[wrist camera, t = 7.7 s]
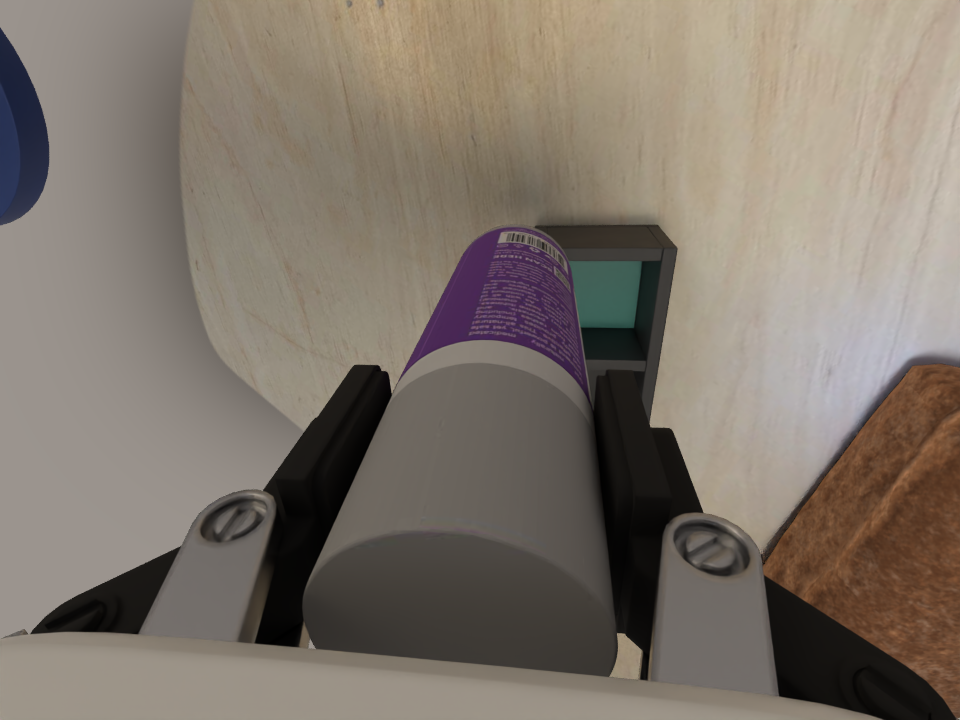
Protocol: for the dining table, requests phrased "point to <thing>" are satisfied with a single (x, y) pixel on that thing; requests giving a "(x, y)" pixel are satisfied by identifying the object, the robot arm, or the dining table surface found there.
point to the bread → (890, 532)
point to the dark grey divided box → (620, 297)
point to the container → (480, 485)
